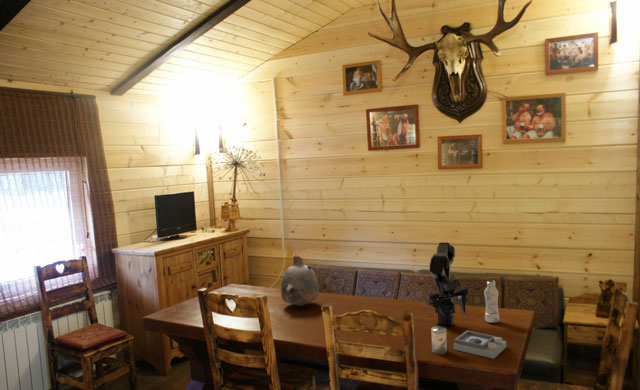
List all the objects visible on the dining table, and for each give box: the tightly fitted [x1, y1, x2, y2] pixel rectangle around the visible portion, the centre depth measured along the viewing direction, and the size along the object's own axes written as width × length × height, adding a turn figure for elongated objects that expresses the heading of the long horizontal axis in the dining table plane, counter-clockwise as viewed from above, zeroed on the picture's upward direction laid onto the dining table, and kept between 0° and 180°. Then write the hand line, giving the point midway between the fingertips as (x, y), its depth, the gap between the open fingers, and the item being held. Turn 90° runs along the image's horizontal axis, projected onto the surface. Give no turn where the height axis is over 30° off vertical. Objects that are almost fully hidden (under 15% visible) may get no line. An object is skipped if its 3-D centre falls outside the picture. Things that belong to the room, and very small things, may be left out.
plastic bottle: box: [483, 280, 500, 324], centre depth 230 cm, size 6×7×20 cm
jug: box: [280, 253, 320, 307], centre depth 270 cm, size 24×21×30 cm
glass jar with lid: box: [430, 325, 448, 355], centre depth 198 cm, size 8×6×10 cm
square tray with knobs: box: [453, 330, 507, 359], centre depth 201 cm, size 17×14×4 cm
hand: (455, 314), depth 203 cm, fingers open, 9 cm apart
